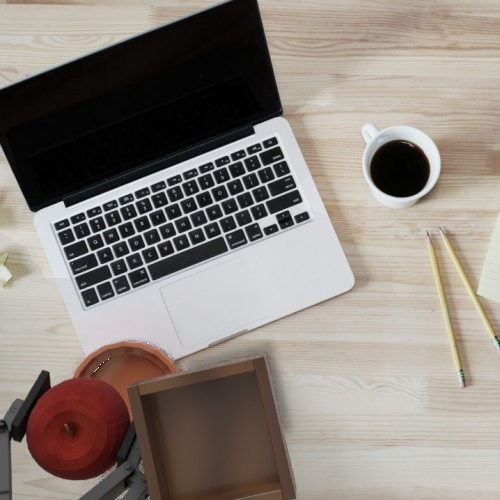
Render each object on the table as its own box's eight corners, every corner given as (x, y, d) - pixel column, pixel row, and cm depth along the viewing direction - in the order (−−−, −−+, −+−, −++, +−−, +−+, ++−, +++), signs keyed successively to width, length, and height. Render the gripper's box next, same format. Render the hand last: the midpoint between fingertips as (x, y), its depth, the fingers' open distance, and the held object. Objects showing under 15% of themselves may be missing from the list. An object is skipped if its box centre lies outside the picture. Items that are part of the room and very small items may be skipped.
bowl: (88, 467, 88) (80, 473, 85) (65, 353, 89) (56, 356, 86) (200, 442, 87) (196, 448, 84) (175, 329, 88) (170, 330, 85)
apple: (156, 445, 73) (133, 469, 63) (69, 477, 73) (34, 506, 63) (124, 357, 74) (97, 368, 64) (39, 389, 74) (-1, 405, 64)
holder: (164, 514, 63) (155, 528, 59) (136, 381, 64) (126, 386, 60) (296, 486, 63) (296, 499, 59) (266, 352, 64) (263, 356, 60)
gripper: (-145, 603, 57) (-6, 385, 73) (118, 688, 55) (200, 445, 72) (-169, 563, 52) (-15, 338, 68) (120, 655, 50) (207, 401, 67)
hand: (95, 393), depth 70 cm, fingers closed on apple, 9 cm apart
